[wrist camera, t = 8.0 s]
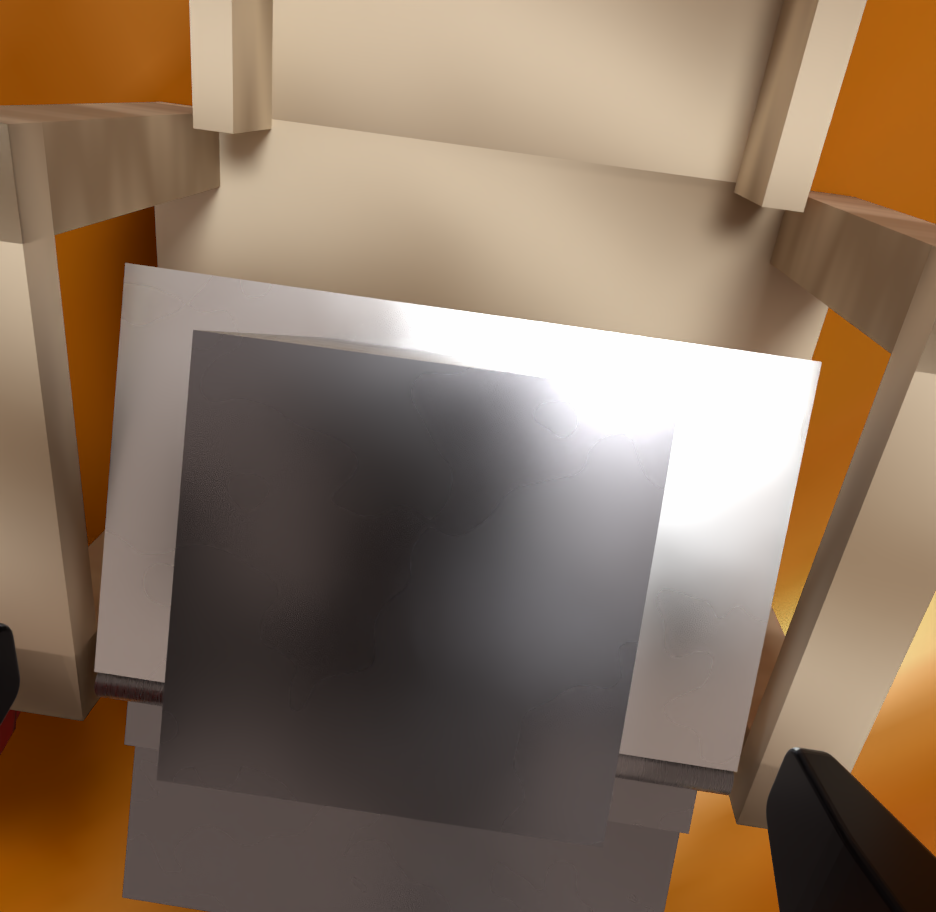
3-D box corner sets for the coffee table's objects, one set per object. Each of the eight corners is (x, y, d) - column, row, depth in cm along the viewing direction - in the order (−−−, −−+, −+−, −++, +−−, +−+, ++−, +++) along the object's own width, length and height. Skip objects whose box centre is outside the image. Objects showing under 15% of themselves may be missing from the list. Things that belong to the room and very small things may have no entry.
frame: (726, 588, 22) (820, 837, 15) (179, 506, 23) (3, 708, 15) (1046, -398, 13) (1687, -1019, 6) (132, -506, 14) (-354, -1215, 6)
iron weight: (607, 375, 13) (680, 396, 8) (563, 652, 14) (602, 847, 8) (319, 337, 13) (193, 329, 8) (290, 613, 14) (156, 779, 9)
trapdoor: (633, 834, 21) (684, 1025, 15) (193, 764, 21) (75, 925, 15) (722, 357, 19) (821, 361, 13) (240, 289, 19) (125, 262, 13)
